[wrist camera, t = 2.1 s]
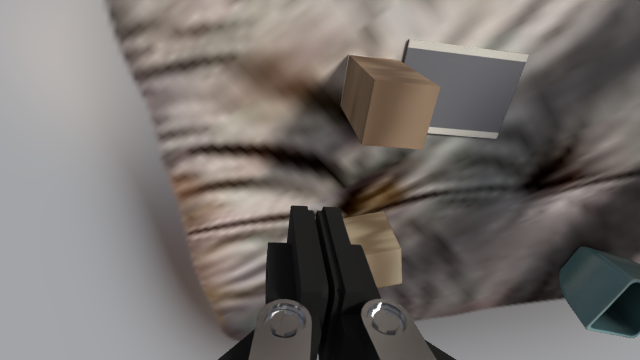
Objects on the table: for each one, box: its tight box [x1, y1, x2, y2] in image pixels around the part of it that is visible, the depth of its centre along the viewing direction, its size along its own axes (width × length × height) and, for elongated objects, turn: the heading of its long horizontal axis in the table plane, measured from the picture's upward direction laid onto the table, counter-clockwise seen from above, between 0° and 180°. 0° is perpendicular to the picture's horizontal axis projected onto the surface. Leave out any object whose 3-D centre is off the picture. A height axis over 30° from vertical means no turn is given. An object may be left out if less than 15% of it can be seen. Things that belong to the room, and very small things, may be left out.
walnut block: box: [340, 54, 440, 150], centre depth 32 cm, size 5×5×10 cm
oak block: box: [343, 211, 402, 288], centre depth 42 cm, size 5×5×7 cm
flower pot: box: [559, 246, 640, 338], centre depth 48 cm, size 9×9×9 cm
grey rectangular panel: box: [403, 39, 528, 139], centre depth 37 cm, size 12×9×1 cm
